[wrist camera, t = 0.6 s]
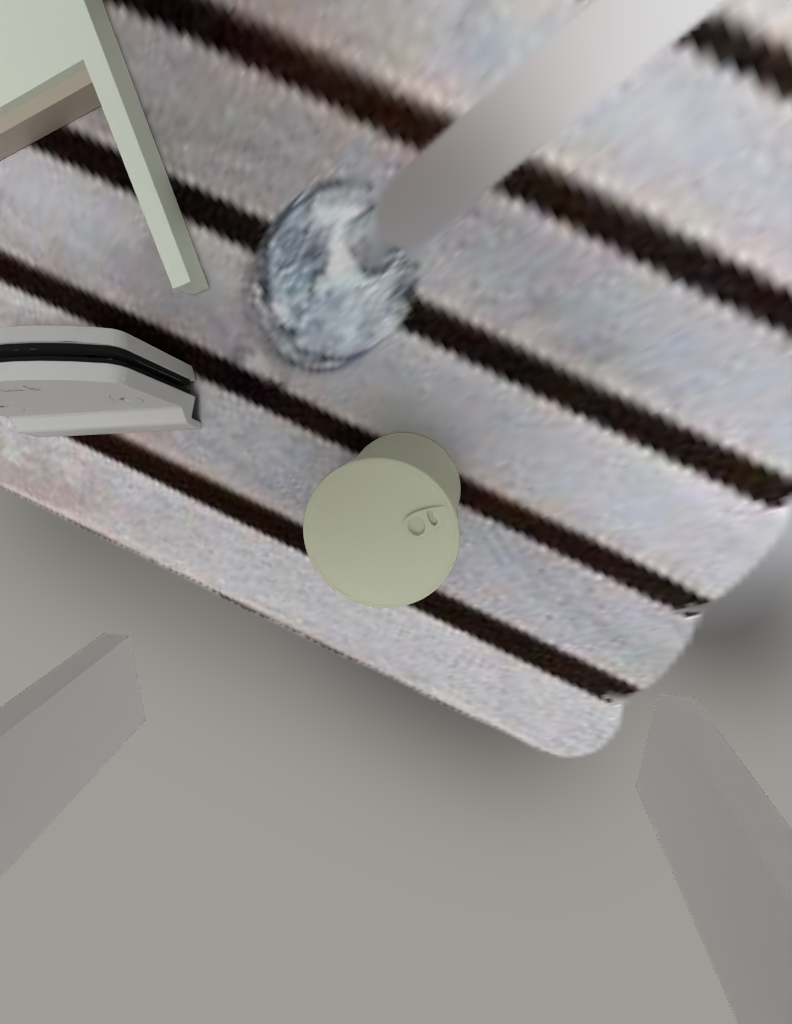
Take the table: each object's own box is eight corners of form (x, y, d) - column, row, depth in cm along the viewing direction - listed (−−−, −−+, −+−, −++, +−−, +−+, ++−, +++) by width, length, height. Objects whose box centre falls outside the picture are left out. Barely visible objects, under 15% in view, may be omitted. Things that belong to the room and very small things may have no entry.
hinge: (34, 437, 39) (-111, 404, 29) (36, 386, 39) (-107, 335, 29) (205, 428, 36) (110, 388, 27) (206, 373, 37) (112, 313, 27)
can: (477, 518, 35) (486, 583, 24) (378, 556, 38) (342, 632, 26) (433, 413, 33) (419, 429, 22) (330, 460, 36) (270, 497, 24)
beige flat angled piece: (-160, 123, 33) (-205, 104, 31) (89, -34, 28) (57, -70, 26) (-24, 382, 38) (-55, 383, 36) (209, 288, 33) (190, 281, 31)
